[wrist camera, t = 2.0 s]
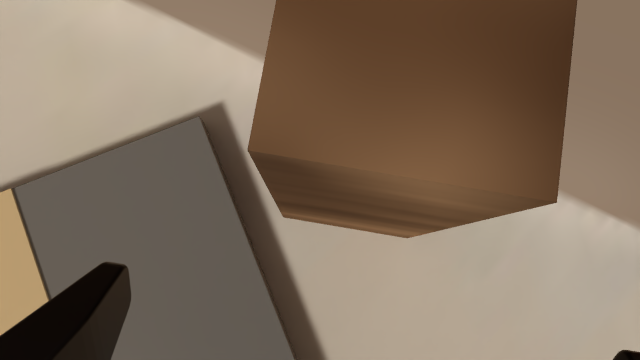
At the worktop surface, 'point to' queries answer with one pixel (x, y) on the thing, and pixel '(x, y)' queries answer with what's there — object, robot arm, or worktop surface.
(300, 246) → the worktop surface
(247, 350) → the baseplate
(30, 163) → the worktop surface
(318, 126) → the walnut post
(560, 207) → the worktop surface
